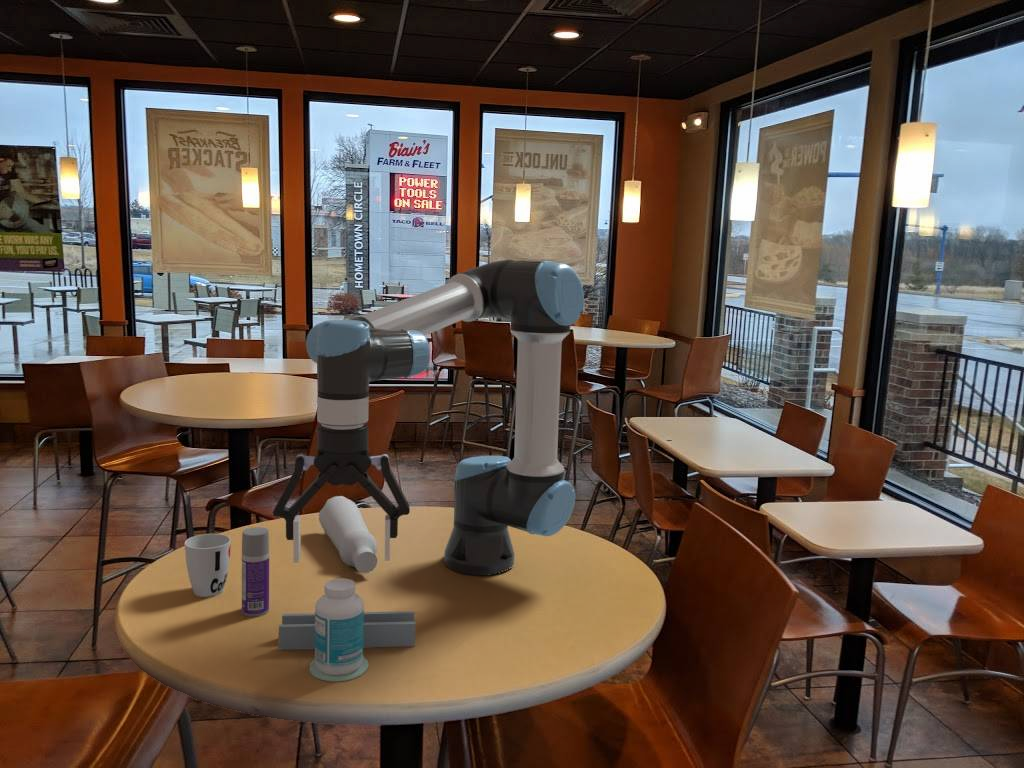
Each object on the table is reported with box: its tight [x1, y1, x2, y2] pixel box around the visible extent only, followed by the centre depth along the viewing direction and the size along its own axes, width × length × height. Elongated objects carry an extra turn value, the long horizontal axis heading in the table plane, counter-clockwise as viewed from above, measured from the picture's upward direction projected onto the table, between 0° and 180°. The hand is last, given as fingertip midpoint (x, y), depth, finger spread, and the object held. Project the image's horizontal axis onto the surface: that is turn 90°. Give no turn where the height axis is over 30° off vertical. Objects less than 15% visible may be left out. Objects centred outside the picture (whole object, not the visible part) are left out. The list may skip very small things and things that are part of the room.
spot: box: [309, 656, 369, 683], centre depth 124 cm, size 9×9×1 cm
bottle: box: [318, 495, 378, 574], centre depth 172 cm, size 9×9×30 cm
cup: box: [184, 533, 232, 598], centre depth 149 cm, size 8×8×10 cm
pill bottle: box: [314, 578, 365, 675], centre depth 123 cm, size 8×7×14 cm
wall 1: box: [278, 621, 416, 651], centre depth 130 cm, size 22×1×4 cm, turn 99°
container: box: [241, 526, 270, 618], centre depth 141 cm, size 5×5×15 cm
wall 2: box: [281, 610, 416, 625], centre depth 134 cm, size 22×1×4 cm, turn 99°
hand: (342, 558), depth 122 cm, fingers open, 13 cm apart
